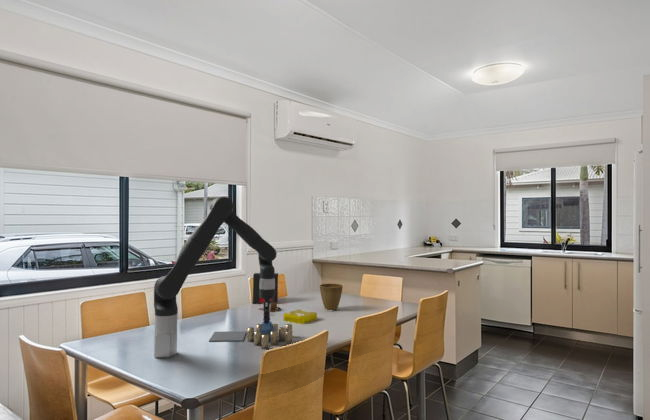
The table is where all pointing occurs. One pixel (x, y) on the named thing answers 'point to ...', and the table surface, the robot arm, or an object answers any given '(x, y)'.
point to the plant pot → (331, 295)
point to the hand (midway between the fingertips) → (267, 321)
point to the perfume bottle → (266, 328)
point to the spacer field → (273, 335)
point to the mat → (228, 336)
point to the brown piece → (273, 307)
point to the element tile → (300, 316)
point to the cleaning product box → (256, 289)
